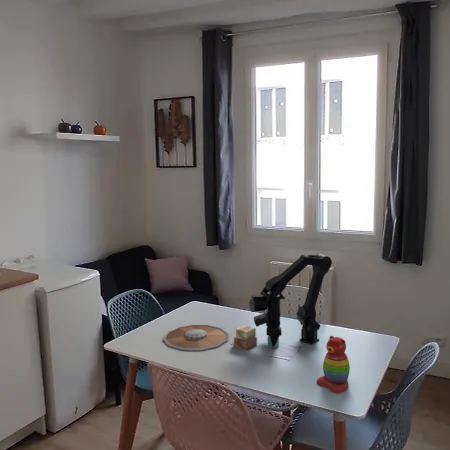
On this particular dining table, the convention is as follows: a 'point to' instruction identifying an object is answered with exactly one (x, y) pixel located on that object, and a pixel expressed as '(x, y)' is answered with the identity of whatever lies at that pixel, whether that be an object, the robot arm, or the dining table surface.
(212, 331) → the shield
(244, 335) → the oak top block
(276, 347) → the teal cylinder
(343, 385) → the stacking bear
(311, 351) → the dining table surface
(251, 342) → the walnut base block
